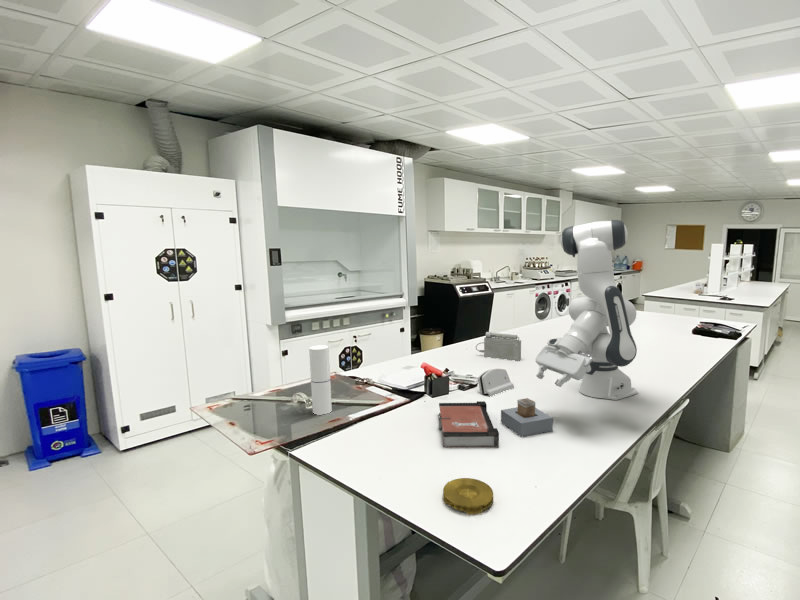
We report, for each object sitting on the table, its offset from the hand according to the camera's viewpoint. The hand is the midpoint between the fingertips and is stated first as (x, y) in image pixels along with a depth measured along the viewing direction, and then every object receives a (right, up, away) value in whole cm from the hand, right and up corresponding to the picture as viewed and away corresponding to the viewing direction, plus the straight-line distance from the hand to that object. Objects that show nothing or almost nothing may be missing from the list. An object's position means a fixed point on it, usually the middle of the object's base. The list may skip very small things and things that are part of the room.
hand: (547, 381), depth 142 cm
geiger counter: (+3, -4, +87) cm, 87 cm away
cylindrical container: (-79, -15, +18) cm, 83 cm away
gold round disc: (-33, -21, -39) cm, 56 cm away
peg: (-7, -15, 0) cm, 17 cm away
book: (-28, -17, 0) cm, 32 cm away
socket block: (-7, -15, 0) cm, 17 cm away
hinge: (-9, -11, +37) cm, 40 cm away
